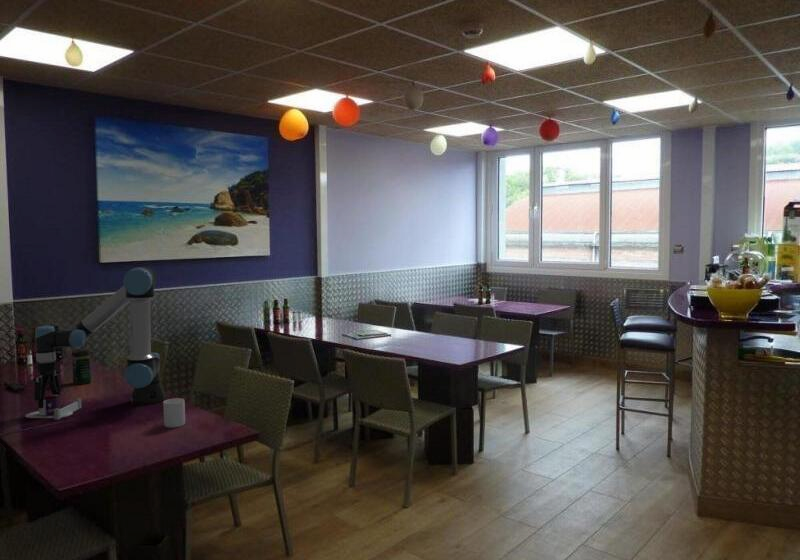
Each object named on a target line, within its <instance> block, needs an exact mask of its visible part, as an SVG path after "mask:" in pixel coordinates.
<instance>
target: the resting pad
mask: <svg viewBox="0 0 800 560" xmlns="http://www.w3.org/2000/svg"><path fill="white" fill-rule="evenodd" d="M73 414H74V411H73V412H70V413H68V414H66V415H64V416H62V418H66V417H70V416H72V415H73ZM25 418H27V419H54V414H52V415H39V410H37V411H33V412H30V413H27V414H25Z"/></svg>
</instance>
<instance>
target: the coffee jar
mask: <svg viewBox="0 0 800 560" xmlns="http://www.w3.org/2000/svg"><path fill="white" fill-rule="evenodd" d="M90 353H91V352H90V350H88V349H84V348H81V347H80V348H74V349H73V350H72V351H71V360H72V361H71V362H72V382H73V384H75V385H87V384H90V383H91V382H92V375H91V354H90Z"/></svg>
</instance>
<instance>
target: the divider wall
mask: <svg viewBox="0 0 800 560" xmlns="http://www.w3.org/2000/svg"><path fill="white" fill-rule="evenodd" d="M79 409H82V398H81V397H78V398H76V399H75V401H74V402H72V403H70V404H68V405H66V406H64V407H62V408H56V409H54V418H53V420H57V421H58V420H61V418H63V417H62V416H64V415H66V414H68V413H70V412H73V413H74V412H75V411H78V410H79Z"/></svg>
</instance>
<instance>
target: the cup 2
mask: <svg viewBox="0 0 800 560" xmlns="http://www.w3.org/2000/svg"><path fill="white" fill-rule="evenodd" d="M162 405H163V425H164V427H166V428H168V429H169V428H170V429H171V428H172V429H173V428H179V427H182V426H184V425H185V423H186V409H185V408H186V407H185V405H186V404H185V399H184V398H180V397H179V398H178V397H177V398H169V399H165V400H163V401H162Z"/></svg>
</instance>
